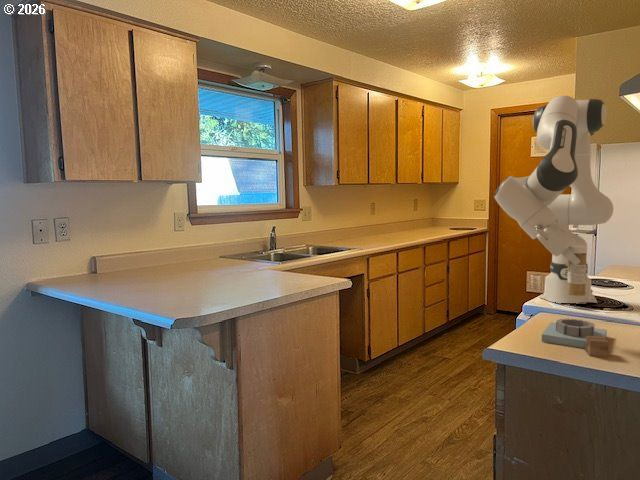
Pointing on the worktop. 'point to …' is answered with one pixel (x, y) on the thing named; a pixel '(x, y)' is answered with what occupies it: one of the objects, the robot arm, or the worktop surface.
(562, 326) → the hub board
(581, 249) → the sprinkles bottle
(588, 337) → the walnut block
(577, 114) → the robot arm
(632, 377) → the worktop surface
